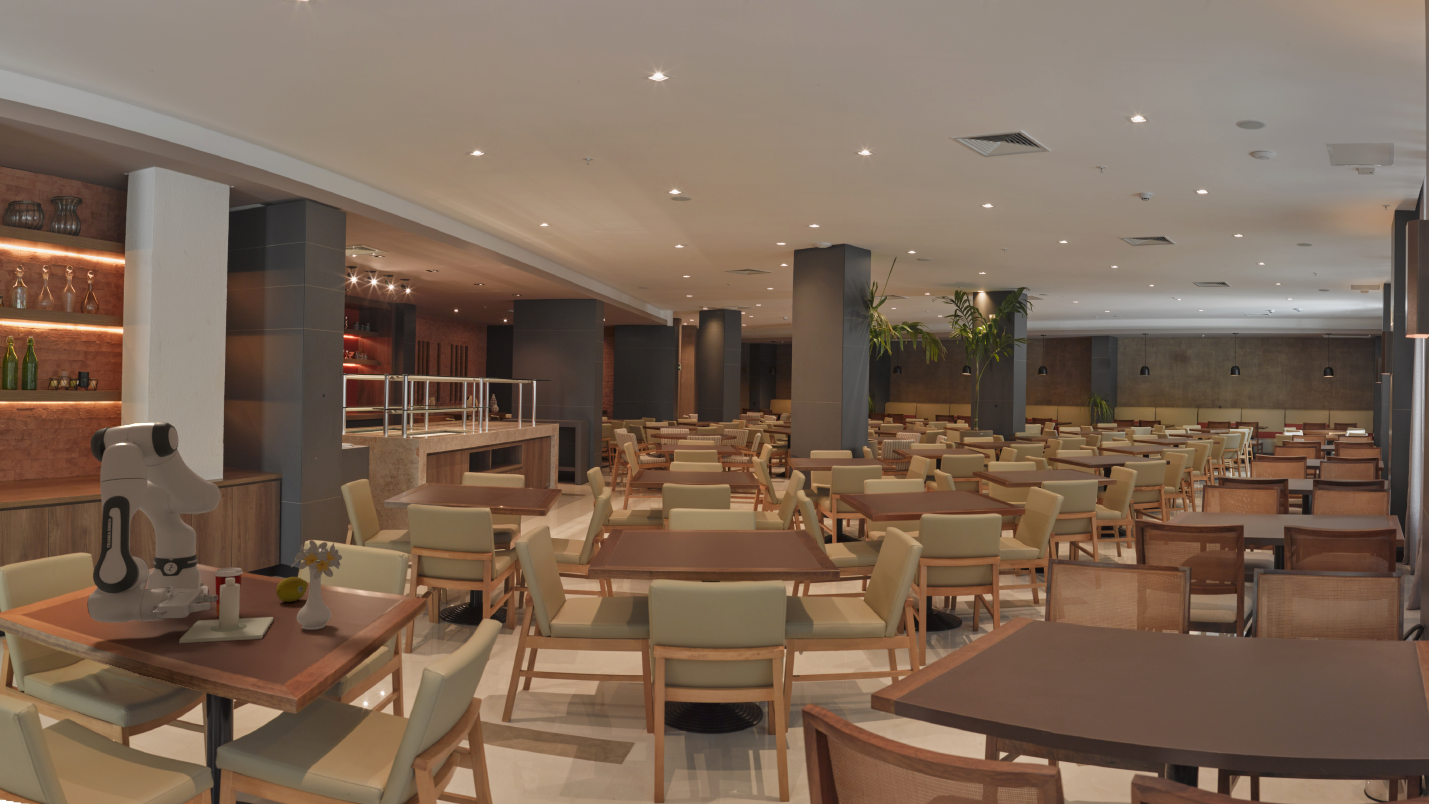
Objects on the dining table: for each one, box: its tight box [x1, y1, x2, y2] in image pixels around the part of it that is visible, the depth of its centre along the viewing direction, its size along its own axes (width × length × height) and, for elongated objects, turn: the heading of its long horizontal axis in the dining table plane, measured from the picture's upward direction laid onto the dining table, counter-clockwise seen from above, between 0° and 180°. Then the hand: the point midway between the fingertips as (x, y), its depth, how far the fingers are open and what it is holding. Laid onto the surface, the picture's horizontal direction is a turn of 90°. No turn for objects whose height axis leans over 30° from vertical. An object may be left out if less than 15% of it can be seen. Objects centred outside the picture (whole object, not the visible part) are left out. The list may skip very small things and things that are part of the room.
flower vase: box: [290, 539, 343, 631], centre depth 252 cm, size 13×18×25 cm
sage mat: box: [179, 616, 274, 644], centre depth 245 cm, size 20×20×1 cm
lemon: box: [275, 576, 309, 603], centre depth 281 cm, size 11×8×8 cm
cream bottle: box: [218, 578, 241, 629], centre depth 245 cm, size 5×5×14 cm
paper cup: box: [214, 567, 244, 618], centre depth 262 cm, size 8×8×14 cm
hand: (213, 602), depth 244 cm, fingers open, 8 cm apart
